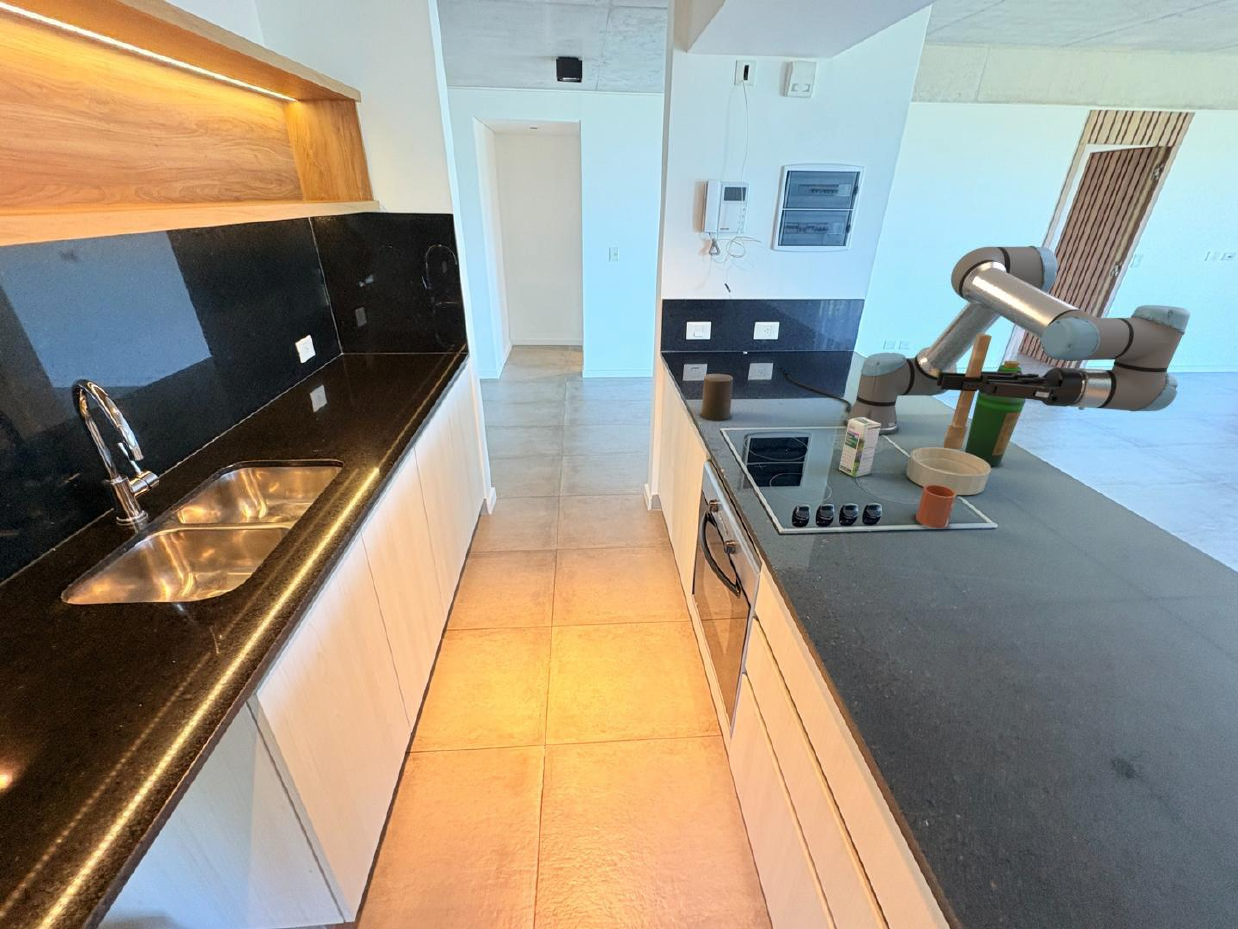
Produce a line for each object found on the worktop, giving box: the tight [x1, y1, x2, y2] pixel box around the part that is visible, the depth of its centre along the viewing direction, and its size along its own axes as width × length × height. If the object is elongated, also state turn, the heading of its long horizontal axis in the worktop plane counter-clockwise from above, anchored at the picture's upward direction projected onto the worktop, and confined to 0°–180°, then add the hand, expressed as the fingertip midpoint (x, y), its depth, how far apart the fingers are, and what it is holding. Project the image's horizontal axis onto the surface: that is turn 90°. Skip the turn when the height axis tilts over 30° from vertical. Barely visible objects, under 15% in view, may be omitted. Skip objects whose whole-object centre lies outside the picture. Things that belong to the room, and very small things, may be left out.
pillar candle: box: [700, 373, 734, 422], centre depth 179 cm, size 10×10×15 cm
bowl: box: [905, 446, 992, 496], centre depth 135 cm, size 18×18×6 cm
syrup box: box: [838, 417, 881, 478], centre depth 138 cm, size 6×6×14 cm
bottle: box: [964, 360, 1027, 467], centre depth 142 cm, size 11×11×28 cm
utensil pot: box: [915, 484, 958, 529], centre depth 116 cm, size 6×6×8 cm
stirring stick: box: [942, 333, 993, 450], centre depth 108 cm, size 3×2×24 cm, turn 77°
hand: (940, 380), depth 108 cm, fingers closed on stirring stick, 2 cm apart
